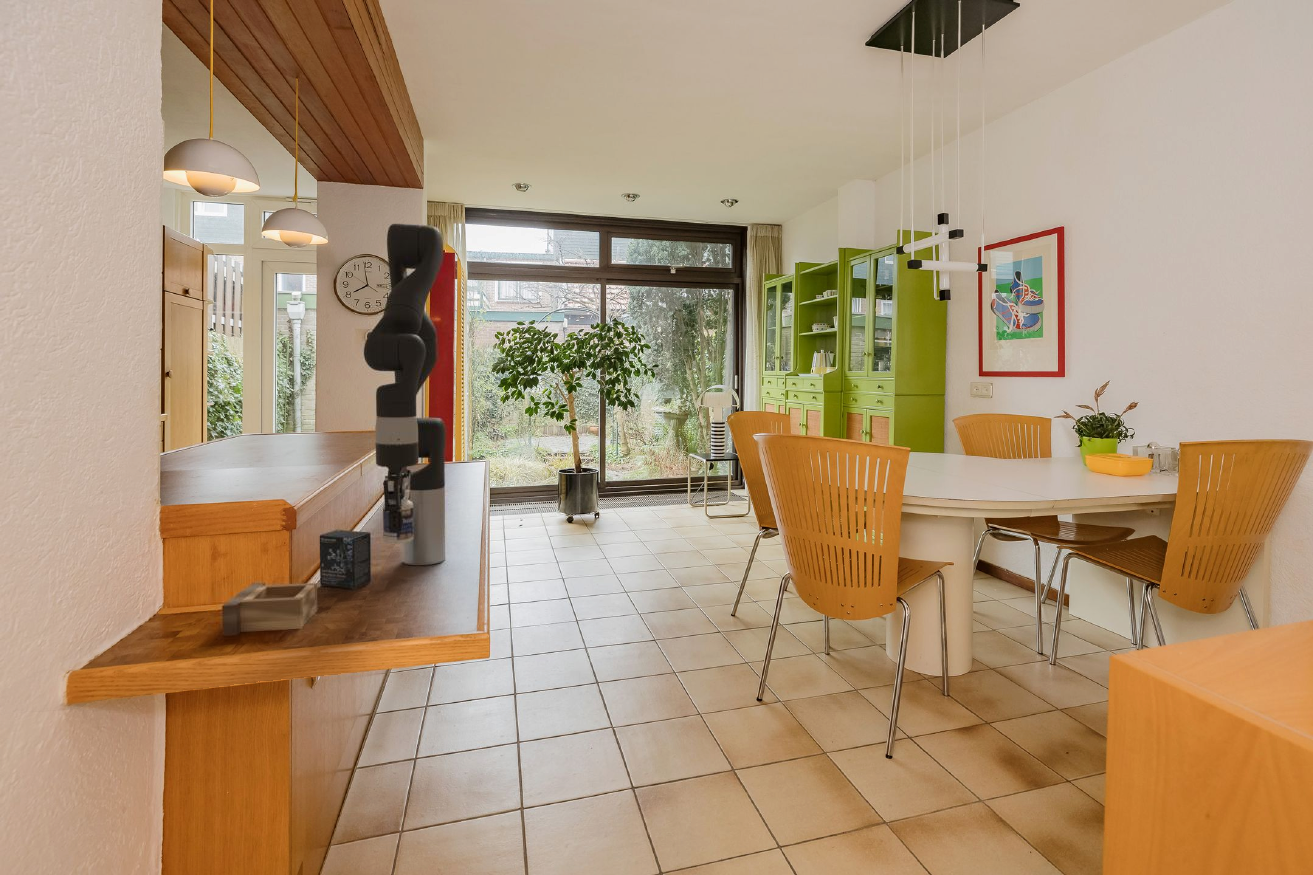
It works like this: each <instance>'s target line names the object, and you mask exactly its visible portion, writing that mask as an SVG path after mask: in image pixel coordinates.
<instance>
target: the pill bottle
mask: <svg viewBox="0 0 1313 875" xmlns="http://www.w3.org/2000/svg"><path fill="white" fill-rule="evenodd" d="M401 494H402V493H400V495H401ZM408 498H409V490H407V489H406V498H405V500H403V502H402V508H403V510H402V530H401V531H400V532H390V531H389V513H388V512H387V511H385V502H383V505H382V527H383V528H382V530H383V536H382V537H383V542H384V543H387V544H393V545H394V544H403V543H405V542H409V541H411V540H413V503H412V502H411V501H409V500H408ZM393 504H396V500H392V502H391V505H393Z"/></svg>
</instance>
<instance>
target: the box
mask: <svg viewBox="0 0 1313 875" xmlns="http://www.w3.org/2000/svg"><path fill="white" fill-rule="evenodd" d="M371 541H372V540H371V532H370V531H369V532H368V531H355V530H345V529H343V530H342V529H335V530H331V531H329V532H326V533H322V534H320V535H319V579H320V580H319V583H320V585H319V586H320V587H334V588H342V589H349V590H355V589H357V588H360V587H363V586H365V585H367V584H369V583H370V582H371V581H372V578H371V575H372V574H371V573H372V571H371V570H372V564H371V563H372V562H371V560H372V559H371V558H372V557H371V556H372V555H371V554H372V553H371V552H372V550H371V544H372V542H371Z"/></svg>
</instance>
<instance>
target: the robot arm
mask: <svg viewBox="0 0 1313 875" xmlns="http://www.w3.org/2000/svg"><path fill="white" fill-rule="evenodd" d="M386 252H387V261H388V263H387V264H388V271H389V280H390V289H391V291H390V292H389V294H388V296H387V300H386V303H385V307H384V312H383V314H382V315H383V316H382V317H381V318H380V320H379V321H378V323H376V325H375V326H374V327H373V329H372V331H370V333H369V334H368V336H367V339H366V341H365V343H364V347H363V357H364V360H365V363H366V365H367V366H368V367H369V368H371V369H372V370H374V371H378V372H394V382H393V383H386V384H383V385H382V384H381V385H380V386H378V387H377V388H376V391H375V392H376V393H375V401H376V402H375V404H376V405H375V408H376V409H375V413H376V414H375V415H376V419H375V420H376V421H375V428H374V432H375V434H374V436H375V437H374V439H375V441H374V442H375V464H376V465H377V466H378V467H382V468H387V475H385V476H384V480H383V483H382V484H383V496H384V503H385V511H387V512H388V513H389V531H390V532H400V531H401V530H402V510H403V508H402V502H403V500H405V498H406V489H407V490H409V498H408V500H409V501H411V502H412V503H413V540H411V541H409V542H405V543H402V553H403V554H402V555H403V556H402V560H403V564H406V565H409V566H410V565H411V566H428V565H435V564H438V563H442V562H444V561H445V560H446V499H445V498H446V497H445V496H446V493H445V492H446V486H445V485H446V482H445V480H446V478H445V477H446V476H445V472H446V471H445V470H446V469H445V468H446V466H445V462H446V461H445V460H446V459H445V458H446V442H447V441H446V440H447V437H446V435H447V432H446V431H447V430H446V429H447V428H446V425H445V422H444V420H443V419H442V418H441V417H439V418H438V417H417V396H418V394H419V392H420V390H421V389H422V387H423V385H424V383H425V382H426V381H427V379H428V377H429V376H430V375H431V373H432V372H433V370H434V368H435V366H436V365H437V362H438V333H437V330H436V327H435V324H434V323H433V321H432V320H431V318H430V317H429V315H428V313H427V312H426V311H425V307H426V302H427V300H428V296H429V295H430V292H431V290H432V287H433V286H434V283H435V281H436V278H437V276H438V274H439V271H440V269H441V266H442V263H443V259H444V241H443V235H442V233H441V231H440V230H439V228H438V227H436V226H432V225H426V224H410V223H409V224H408V223H407V224H406V223H391V224H390V226H389V227H388V230H387V234H386ZM407 269H408V270H410V269H411V270H413V271H412V272H411V273H409V274H408V272H407V271H408V270H407ZM428 458H429V460H430V461H429V463H427V464H426V465H425V466H424V467H422V468H420V469H418V470H414V471H411V469H408V467H414V466H417V465H418V464H419V459H428ZM400 493H402V494H401V495H400ZM392 500H396V504H393V505H391V502H392Z"/></svg>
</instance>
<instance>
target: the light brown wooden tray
mask: <svg viewBox="0 0 1313 875" xmlns="http://www.w3.org/2000/svg"><path fill="white" fill-rule="evenodd" d="M317 612H318V583H317V582H316V583H315V582H313V583H311V582H310V583H286V584H282V583H281V584H265V585H261V586H260V587H259V588H257V589H256V590H255V591H254V592H252V593H251V594H250V595H248V596H247V597H246V598H245V599H243V600H242V601H241V602H240V620H241V632H240V633H244V632H262V631H263V632H264V631H265V632H266V631H281V630H282V631H283V630H284V631H285V630H301V629H302V628H303V626H305V625H306V623H308V621H309V620H310V619H311V618H312V617H313V616H314V615H315V614H316V613H317Z"/></svg>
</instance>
